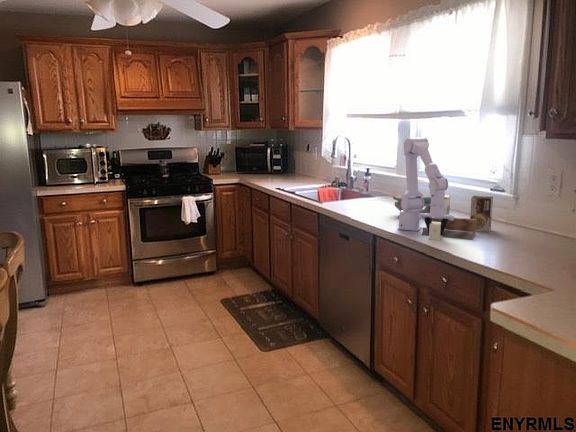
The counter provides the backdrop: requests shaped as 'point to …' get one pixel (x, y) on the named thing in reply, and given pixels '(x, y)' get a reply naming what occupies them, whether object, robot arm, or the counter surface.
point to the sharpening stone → (425, 197)
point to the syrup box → (446, 204)
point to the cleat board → (457, 228)
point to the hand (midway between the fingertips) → (435, 234)
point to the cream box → (435, 231)
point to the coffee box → (482, 212)
